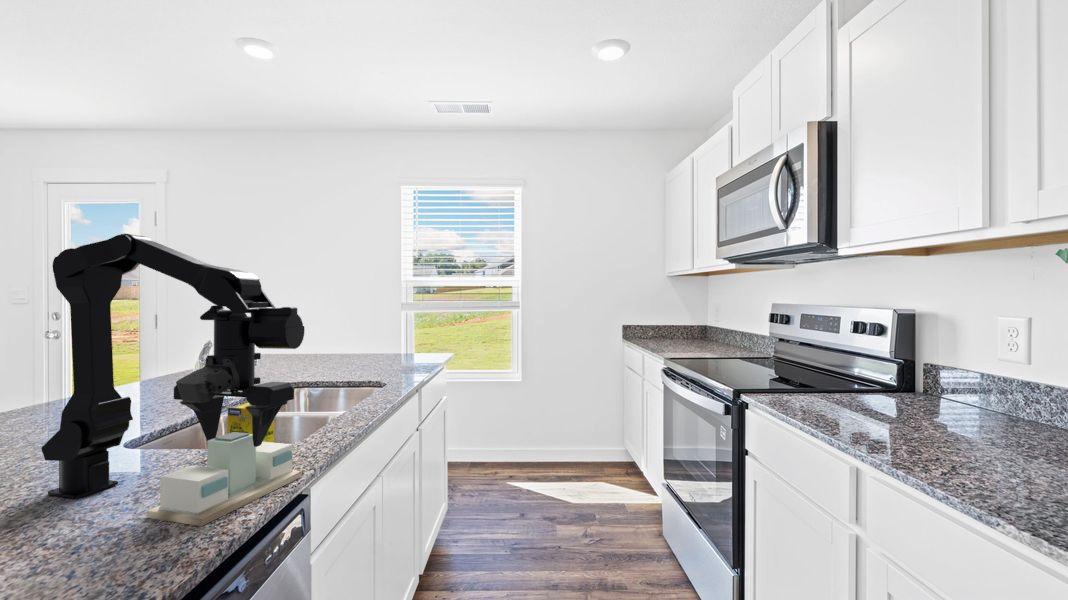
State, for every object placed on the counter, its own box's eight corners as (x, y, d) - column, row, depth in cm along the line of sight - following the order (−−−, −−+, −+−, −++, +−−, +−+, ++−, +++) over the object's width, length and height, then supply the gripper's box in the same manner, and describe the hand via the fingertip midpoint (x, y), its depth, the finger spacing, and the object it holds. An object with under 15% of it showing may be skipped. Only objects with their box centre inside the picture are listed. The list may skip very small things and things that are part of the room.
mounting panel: (146, 517, 72) (146, 510, 72) (255, 471, 91) (255, 465, 91) (201, 526, 69) (201, 519, 69) (301, 476, 88) (301, 471, 88)
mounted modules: (160, 507, 72) (160, 476, 72) (259, 465, 90) (259, 441, 90) (200, 513, 70) (200, 481, 70) (293, 469, 88) (294, 444, 88)
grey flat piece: (158, 510, 72) (158, 507, 72) (260, 467, 90) (260, 465, 90) (196, 516, 70) (196, 513, 70) (292, 471, 88) (292, 468, 88)
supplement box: (252, 466, 94) (253, 408, 94) (225, 463, 95) (226, 407, 95) (274, 456, 100) (275, 402, 100) (249, 454, 101) (249, 400, 101)
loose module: (207, 490, 78) (207, 438, 78) (233, 479, 83) (233, 430, 83) (230, 493, 77) (230, 441, 77) (255, 482, 82) (255, 432, 82)
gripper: (139, 351, 74) (139, 453, 74) (241, 355, 70) (240, 465, 70) (205, 344, 85) (204, 434, 85) (296, 348, 81) (296, 443, 81)
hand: (233, 443), depth 80 cm, fingers open, 9 cm apart
